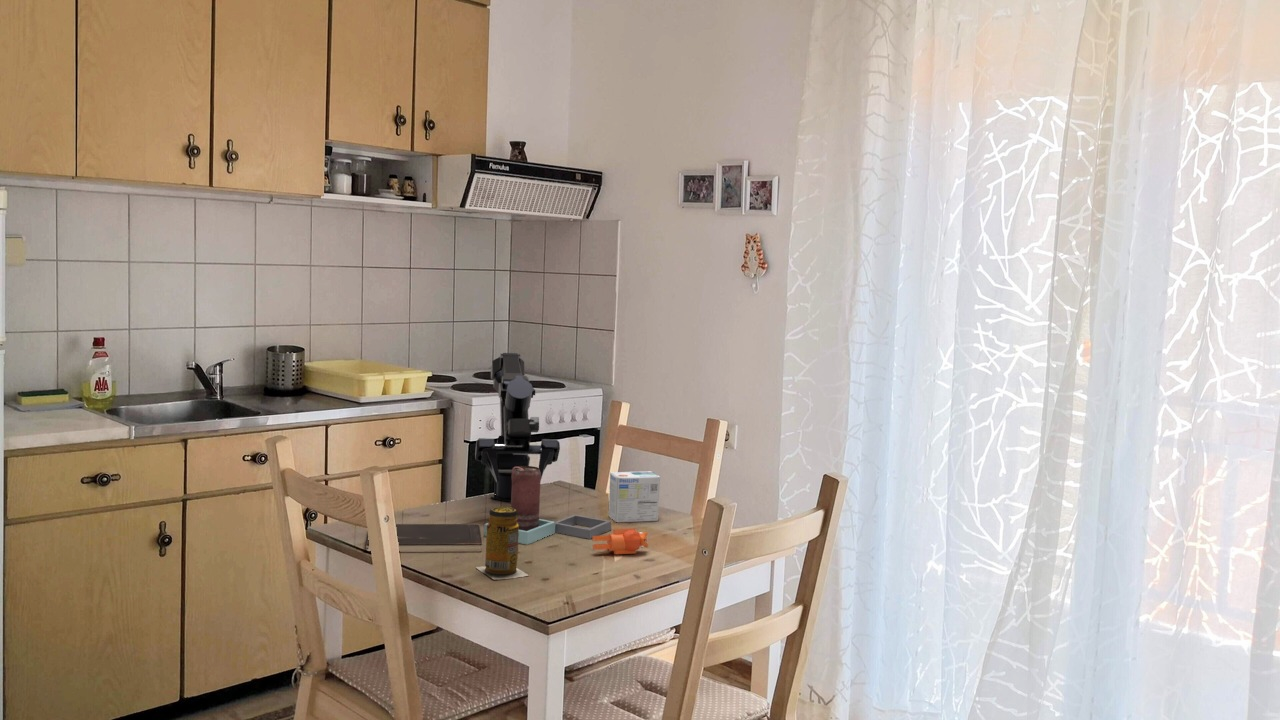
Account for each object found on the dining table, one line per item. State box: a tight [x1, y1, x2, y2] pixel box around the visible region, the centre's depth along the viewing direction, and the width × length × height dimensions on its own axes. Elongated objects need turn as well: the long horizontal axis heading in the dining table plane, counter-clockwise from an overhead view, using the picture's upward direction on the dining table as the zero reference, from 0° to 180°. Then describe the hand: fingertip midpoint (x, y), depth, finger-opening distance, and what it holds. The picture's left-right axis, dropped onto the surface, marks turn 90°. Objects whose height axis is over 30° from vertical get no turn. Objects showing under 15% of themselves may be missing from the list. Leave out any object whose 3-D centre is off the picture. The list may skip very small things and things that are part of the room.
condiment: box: [475, 506, 530, 581], centre depth 194 cm, size 7×8×12 cm
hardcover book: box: [364, 523, 483, 553], centre depth 213 cm, size 16×23×2 cm
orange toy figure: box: [591, 528, 649, 555], centre depth 212 cm, size 5×8×12 cm
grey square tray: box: [555, 513, 612, 540], centre depth 227 cm, size 10×10×2 cm
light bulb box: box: [608, 470, 661, 523], centre depth 240 cm, size 11×7×11 cm, turn 108°
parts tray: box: [483, 518, 556, 546], centre depth 221 cm, size 11×11×3 cm
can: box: [510, 465, 542, 531], centre depth 221 cm, size 6×6×14 cm
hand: (518, 482), depth 227 cm, fingers open, 9 cm apart
